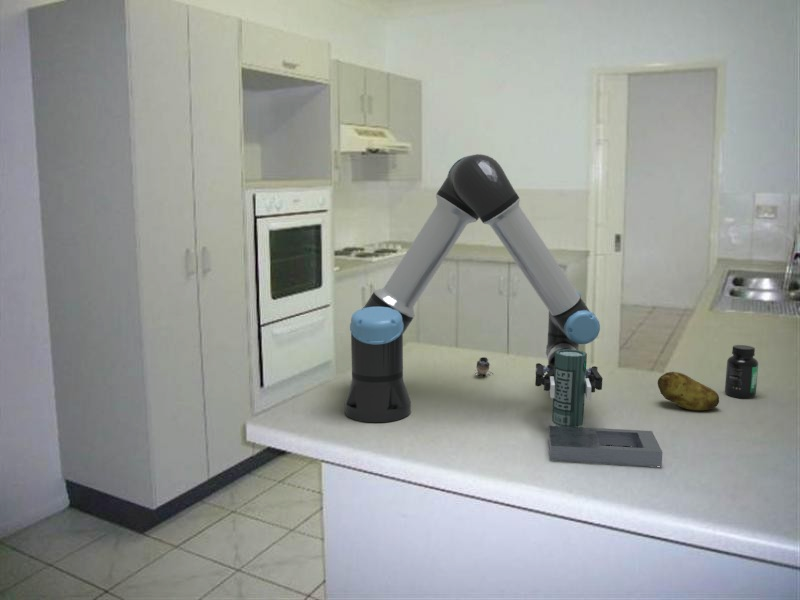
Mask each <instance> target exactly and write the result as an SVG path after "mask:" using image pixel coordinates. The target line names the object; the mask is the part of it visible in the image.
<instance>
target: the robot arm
mask: <svg viewBox="0 0 800 600" xmlns="http://www.w3.org/2000/svg"><path fill="white" fill-rule="evenodd" d="M435 199H436V206H435V208H434V209H433V210H432V212H431V214H430V215H429V216H428V218H427V220H426V221H425V223H424V224H423V226H422V228H421V230H420V231H419V232H418V234H417V236H416V237H415V238H414V240H413V241H412V243H411V245H410V246H409V247H408V249H407V251H406V252H405V254H404V256H403V257H402V258H401V260H400V262H399V263H398V265H397V267H396V268H395V269H394V271H393V273H392V274H391V276H390V278H389V279H388V280H387V282H386V284H385V285H384V286H383V287H382V288H379V289H375V290H374V291H373V292H372V294H371V295H370V297H369V299H368V300H367V302H366V303H365V305H364V306H362V307H361V309H358V310H356V311H355V312H354V313H353V314H352V315H351V318H350V324H349V330H350V340H351V342H350V347H351V349H350V350H351V380H350V381H351V382H350V385H349V388H348V391H347V395H346V397H345V398H346V399H345V402H344V414H345V415H346V416H347V417H348V418H350V419H352V420H355V421H358V422H364V423H388V422H394V421H399V420H401V419H404V418H406V417H408V416H409V415H410V414H411V412H412V404H411V403H412V402H411V399H410V396H409V393H408V390H407V387H406V384H405V381H404V354H403V353H404V350H403V349H404V348H403V347H404V345H403V344H404V343H403V342H404V341H403V340H404V337H403V335H404V334H405V331H406V330H407V328H408V327H409V326H410V324H411V323H412V321H413V320H414V318H415V312H414V306H415V305H416V304H417V302H418V301H419V299H420V297H421V296H422V294H423V293H424V291H425V290H426V288H427V287H428V285H429V283H430V282H431V281H432V279H433V278H434V276H435V274H436V273H437V271H438V270H439V269H440V267H441V265H442V263H443V262H444V261H445V259H446V257H447V256H448V255H449V253H450V251H451V250H452V248H453V247H454V245H455V243H456V242H457V241H458V239H459V237H460V236H461V234H462V233H463V231H465V228H466V227H467V226H468V225H469V224H472V223H476V222H478V220H479V219H480V220H481V222H482V224H484V225H488V226H490V228H491V229H492V230H493V231H494V234H495V235H496V236H497V238H498V239H499V240H500V242H501V243H502V245H503V246H504V248H505V249H506V250H507V252H508V254H509V255H510V257H511V258H512V259H513V261H514V263H515V264H516V266H518V268H519V270H520V271H521V272H522V274H523V275H524V277H525V278H526V279H527V281H528V282H529V284H530V285H531V287H532V289H534V291H535V293H536V294H537V296H538V297H539V298H540V300H541V302H542V303H543V305H544V306H545V307H546V308H547V311H548V323H547V324H548V325H547V326H548V328H547V329H548V330H547V342H546V343H547V344H546V350H545V351H546V352H545V354H546V357H547V365H546V366H545V364H542V363H540V362H538V363H536V364H535V387H541V386H543V391H544V392H549V395H550V398H551V399H553V398H554V395H555V382H554V367H555V351H558V350H563V349H565V350H566V349H568V350H569V349H571V350H579V349H580V348H579V346H580V345H586V344H590V343H592V342H593V341H595V340H596V339H597V338H598V336H599V334H600V331H601V324H600V321H599V319H598V318H597V317H596V314H594V312H592V311H591V310H590V309H589V308H588V306H587V305H586V303H585V302H584V300H583V299H582V293H580V291H578V290H576V288H575V287H574V285H573V284H572V282H571V281H570V279H569V278H568V276H567V275H566V274H565V272H564V270H563V269H562V268H561V266H560V264H559V263H558V261H557V260H556V259H555V256H553V254H552V252H551V251H550V250H549V248H548V247H547V245H546V243H545V242H544V241H543V240H542V237H541V236H540V235H539V233H538V232H537V230H536V229H535V227H534V226H533V225H532V223H531V221H530V220H529V218H528V217H527V216H526V214H525V212H524V211H523V209H522V207H520V201H521V200H520V199H521V198H520V197H519V195H518V193H517V192H516V190H515V188H514V187H513V184H511V182H510V180H509V179H508V176H507V175H506V173H505V171H504V169H503V167H502V166H501V165H500V164H499V162H497V160H496V159H494V158H493V157H491V156H489V155H486V154H478V153H477V154H476V153H475V154H472V155H470V154H469V155H467V156H466V155H465V156H464V157H461V158H459V159H458V160H456V161H455V162H454V163H453V164H452V165H451V167H450V169H449V171H448V174H447V176H446V178H445V180H444V181H443V183H442V184H441V186H440V188H439V190H438V191H437V192H436V194H435ZM602 389H603V376H602V375H601V374H600V372H599V371H598V366H596V365H595V366H592V367H588V368H586V380H585V397H586V398H585V399H586V401H591V400H592V393H595V392H596V390H597V391H601V390H602Z"/></svg>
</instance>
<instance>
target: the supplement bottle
mask: <svg viewBox="0 0 800 600" xmlns="http://www.w3.org/2000/svg"><path fill="white" fill-rule="evenodd" d="M755 351H756V348H755V347H753V346H750V345H746V344H737V345H736V344H734V345H733V346H732V351H731V354H732V355H731V356H729V357H728V358H727V360H726V371H725V372H726V373H725V382H724V383H725V384H724V393H725V394H726V395H727V396H729V397H731V398H736V399H743V400H749V399H750V400H751V399H753V398H755V397H756V394H757V386H758V385H757V384H758V375H759V374H758V372H759V371H758V370H759V362H758V360H757V359H756V358H755V355H756V353H755Z"/></svg>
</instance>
